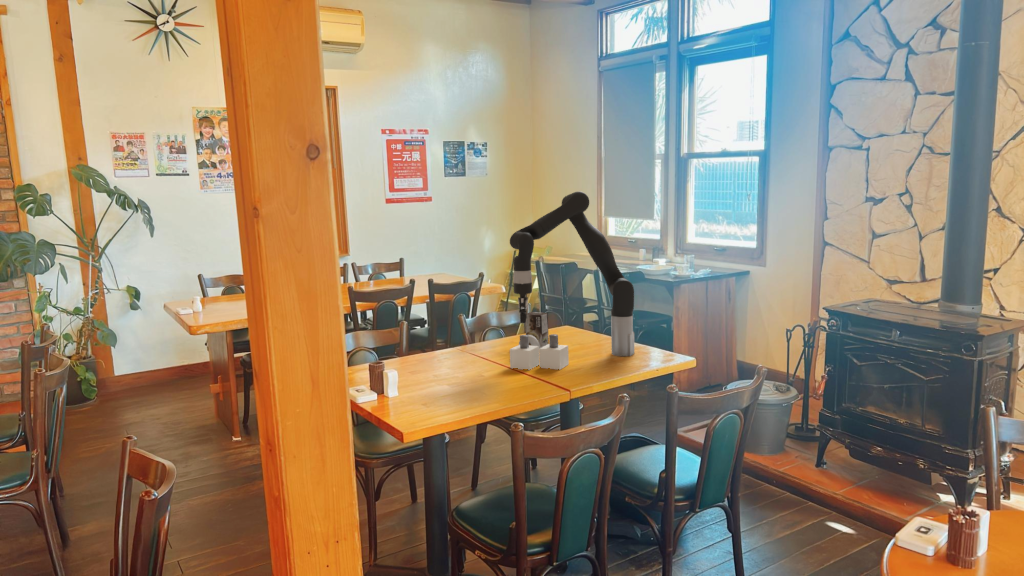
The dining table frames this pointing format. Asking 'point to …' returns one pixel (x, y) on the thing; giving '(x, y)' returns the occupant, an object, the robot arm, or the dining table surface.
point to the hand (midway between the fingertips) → (523, 320)
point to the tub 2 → (553, 354)
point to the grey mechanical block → (538, 327)
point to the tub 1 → (524, 355)
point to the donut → (532, 341)
